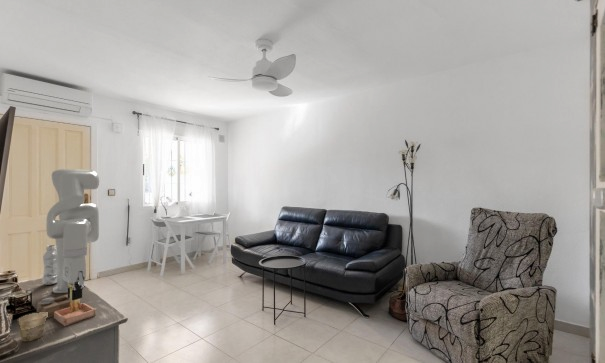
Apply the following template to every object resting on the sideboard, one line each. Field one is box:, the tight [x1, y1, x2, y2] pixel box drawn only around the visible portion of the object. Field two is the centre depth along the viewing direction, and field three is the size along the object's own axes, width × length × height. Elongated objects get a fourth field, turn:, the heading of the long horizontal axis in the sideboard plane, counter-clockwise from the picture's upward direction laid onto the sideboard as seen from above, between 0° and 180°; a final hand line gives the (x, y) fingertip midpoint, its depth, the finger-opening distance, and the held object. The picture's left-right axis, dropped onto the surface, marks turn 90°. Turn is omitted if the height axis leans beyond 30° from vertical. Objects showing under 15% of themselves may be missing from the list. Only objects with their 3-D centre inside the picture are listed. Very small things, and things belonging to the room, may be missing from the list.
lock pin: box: [68, 283, 81, 312], centre depth 113 cm, size 4×4×11 cm
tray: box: [53, 302, 96, 327], centre depth 113 cm, size 11×10×2 cm
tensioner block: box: [36, 293, 70, 319], centre depth 118 cm, size 10×10×6 cm
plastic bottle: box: [42, 244, 57, 286], centre depth 147 cm, size 6×7×20 cm
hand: (74, 297), depth 113 cm, fingers closed on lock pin, 3 cm apart
